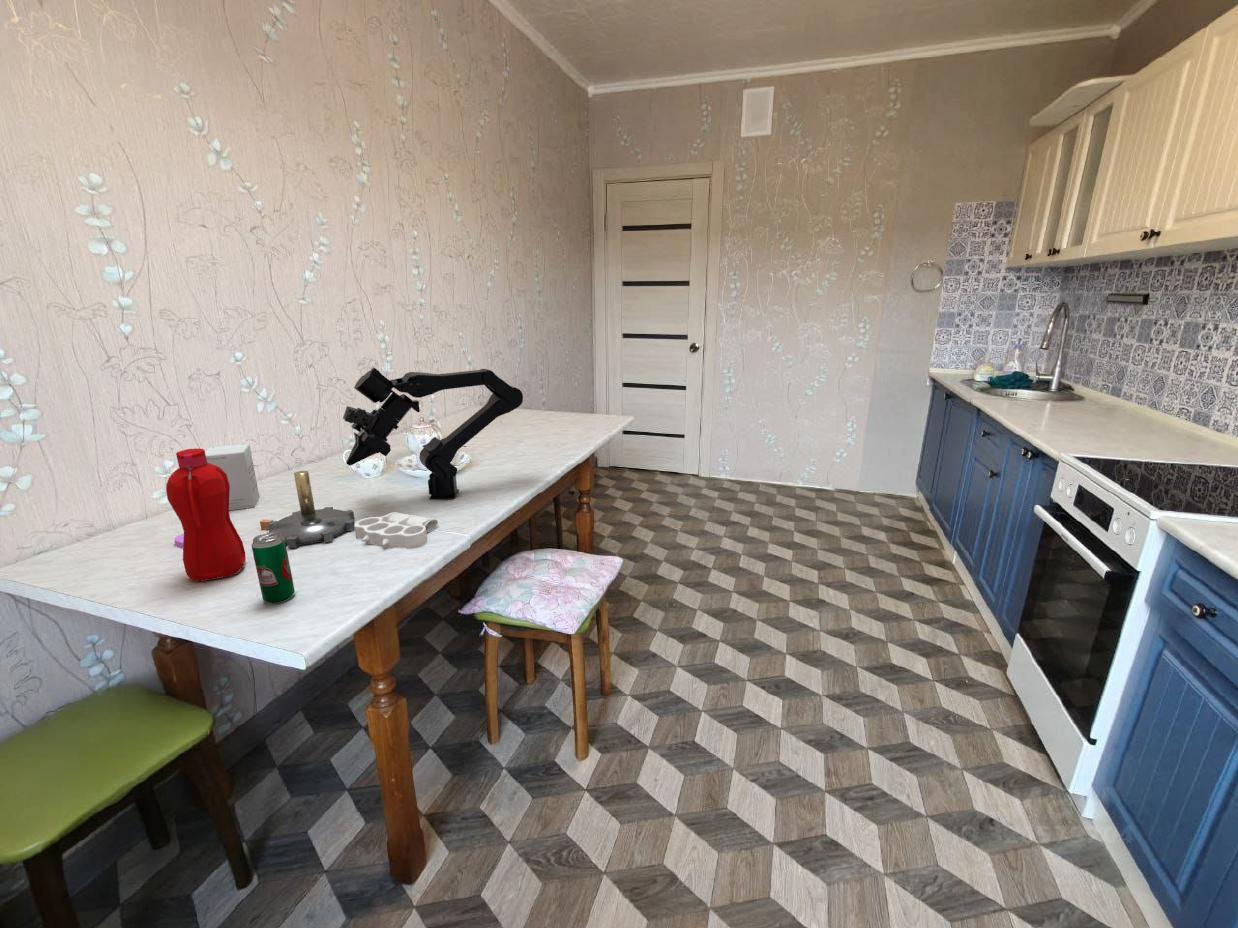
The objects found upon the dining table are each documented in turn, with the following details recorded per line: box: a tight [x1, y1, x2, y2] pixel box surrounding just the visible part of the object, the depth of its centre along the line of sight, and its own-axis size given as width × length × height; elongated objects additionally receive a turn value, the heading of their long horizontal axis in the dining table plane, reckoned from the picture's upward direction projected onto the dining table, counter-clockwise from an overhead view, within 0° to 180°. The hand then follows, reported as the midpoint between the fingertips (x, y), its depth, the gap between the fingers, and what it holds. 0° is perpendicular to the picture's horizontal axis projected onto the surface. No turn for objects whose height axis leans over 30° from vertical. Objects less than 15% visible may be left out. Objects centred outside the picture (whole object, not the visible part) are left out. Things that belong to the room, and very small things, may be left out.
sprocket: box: [267, 470, 356, 549], centre depth 129 cm, size 19×19×12 cm
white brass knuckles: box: [354, 511, 439, 549], centre depth 128 cm, size 3×18×15 cm
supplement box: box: [205, 443, 260, 511], centre depth 145 cm, size 9×9×15 cm
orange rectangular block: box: [259, 519, 274, 531], centre depth 132 cm, size 2×1×2 cm, turn 83°
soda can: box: [251, 531, 296, 604], centre depth 101 cm, size 5×5×12 cm
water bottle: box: [165, 448, 246, 582], centre depth 108 cm, size 9×11×25 cm
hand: (347, 464), depth 138 cm, fingers closed
